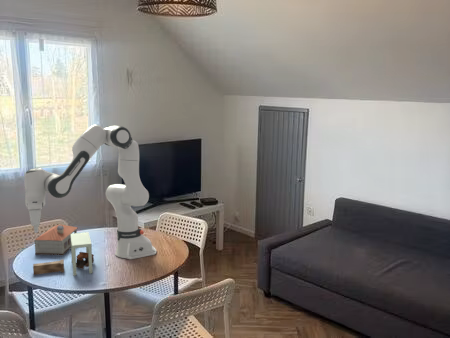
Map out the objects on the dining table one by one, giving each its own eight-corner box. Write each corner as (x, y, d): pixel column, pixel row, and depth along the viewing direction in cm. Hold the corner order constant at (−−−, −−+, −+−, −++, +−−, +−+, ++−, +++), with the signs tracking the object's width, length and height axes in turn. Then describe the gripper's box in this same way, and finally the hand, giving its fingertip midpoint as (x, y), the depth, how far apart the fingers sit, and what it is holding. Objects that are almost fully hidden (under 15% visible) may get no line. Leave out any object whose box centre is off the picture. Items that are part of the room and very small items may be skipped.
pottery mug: (69, 266, 218) (74, 250, 221) (86, 270, 224) (90, 254, 227) (81, 268, 210) (86, 251, 212) (97, 271, 216) (102, 255, 219)
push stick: (63, 267, 217) (63, 259, 216) (64, 272, 211) (63, 263, 210) (34, 271, 211) (33, 262, 211) (33, 276, 206) (33, 267, 205)
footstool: (89, 259, 227) (88, 232, 225) (92, 273, 210) (91, 243, 207) (71, 261, 224) (70, 233, 221) (73, 276, 207) (72, 245, 204)
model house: (63, 256, 233) (62, 229, 230) (35, 255, 233) (33, 229, 230) (79, 241, 256) (78, 217, 253) (53, 240, 256) (52, 217, 254)
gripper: (29, 197, 212) (30, 224, 214) (27, 207, 194) (28, 236, 196) (43, 196, 215) (44, 223, 217) (42, 206, 196) (43, 235, 198)
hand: (36, 229), depth 206 cm, fingers open, 8 cm apart
